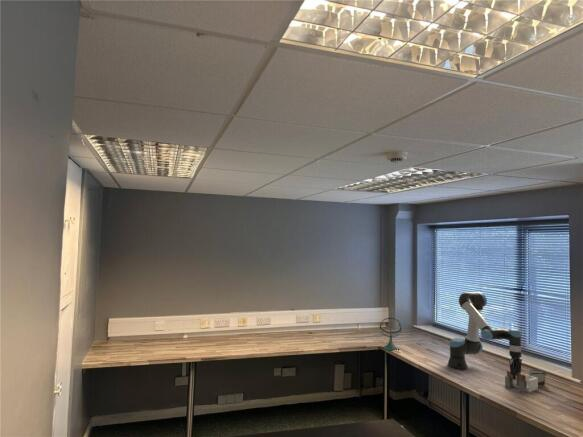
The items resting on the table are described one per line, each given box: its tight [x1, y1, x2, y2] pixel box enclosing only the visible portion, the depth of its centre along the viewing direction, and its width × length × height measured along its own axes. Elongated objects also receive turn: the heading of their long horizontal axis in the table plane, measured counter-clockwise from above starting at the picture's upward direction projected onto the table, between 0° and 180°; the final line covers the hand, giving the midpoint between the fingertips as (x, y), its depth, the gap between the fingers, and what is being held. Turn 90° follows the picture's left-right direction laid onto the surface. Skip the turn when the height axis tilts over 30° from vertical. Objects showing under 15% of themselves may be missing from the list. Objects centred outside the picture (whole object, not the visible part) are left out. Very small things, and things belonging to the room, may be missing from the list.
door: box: [506, 369, 526, 387], centre depth 270 cm, size 12×2×8 cm, turn 31°
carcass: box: [504, 372, 539, 393], centre depth 273 cm, size 16×17×8 cm
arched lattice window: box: [528, 369, 547, 387], centre depth 280 cm, size 12×6×10 cm, turn 92°
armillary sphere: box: [379, 312, 403, 352], centre depth 367 cm, size 22×26×35 cm
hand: (516, 383), depth 270 cm, fingers closed on door, 2 cm apart
